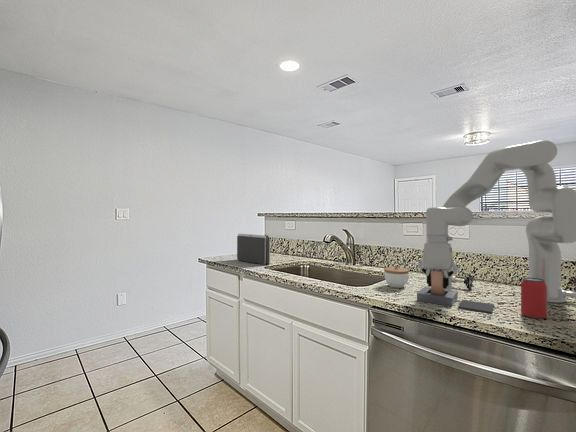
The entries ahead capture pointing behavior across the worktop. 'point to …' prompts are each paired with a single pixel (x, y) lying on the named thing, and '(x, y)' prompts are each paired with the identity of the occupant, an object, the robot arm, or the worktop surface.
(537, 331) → the worktop surface
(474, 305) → the mat
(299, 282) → the worktop surface
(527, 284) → the beer can
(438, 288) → the tan tall block
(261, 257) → the dark grey box
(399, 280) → the lidded jar
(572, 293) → the robot arm
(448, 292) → the housing
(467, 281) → the valve
